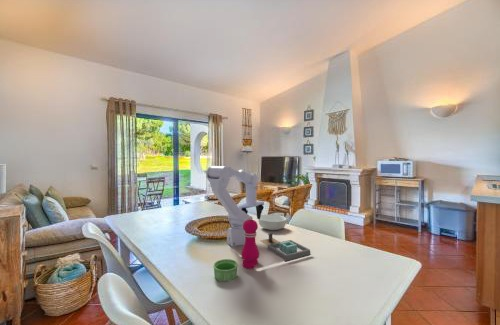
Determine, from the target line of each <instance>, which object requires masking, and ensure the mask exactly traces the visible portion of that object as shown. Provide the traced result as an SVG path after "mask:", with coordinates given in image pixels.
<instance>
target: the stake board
mask: <svg viewBox="0 0 500 325" xmlns="http://www.w3.org/2000/svg"><path fill="white" fill-rule="evenodd" d="M273 235H274V233H268V234H267V236H268V238H266V239H260V240H259V242H261V243H263V244H264V245H266V246H267V247H268V245H270V244H274V243H279V242H280V241H279V240H277V239H275V237H274V238H273Z"/></svg>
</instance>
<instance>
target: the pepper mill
mask: <svg viewBox="0 0 500 325" xmlns="http://www.w3.org/2000/svg"><path fill="white" fill-rule="evenodd" d="M257 222H258V221H256V220H254V219H253V216H251V215H249V217H248V220H246V221H245V222H244V223H243V229H244V231H245V232H244V236H245V244H244V245H243V247H242V249H241V255H240V256H241V258H242V267H243V268H246V269H251V270H252V269H256V266H257V265H258V263H259V260H258V259H259V257H260V252H259V251H260V250H259V248H258V245H257V243H256V236H257V230H258V228H259V226H258V225H259V224H258V223H257Z"/></svg>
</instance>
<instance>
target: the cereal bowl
mask: <svg viewBox="0 0 500 325" xmlns="http://www.w3.org/2000/svg"><path fill="white" fill-rule="evenodd" d="M286 224H287V218H286V217H285V216H283V215H279V214H263V215H262V214H261V216H260V219H258V225H259V227H261V228H263V229H265V230H268V231H278V230H281V229H284V228H285V227H286Z"/></svg>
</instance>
